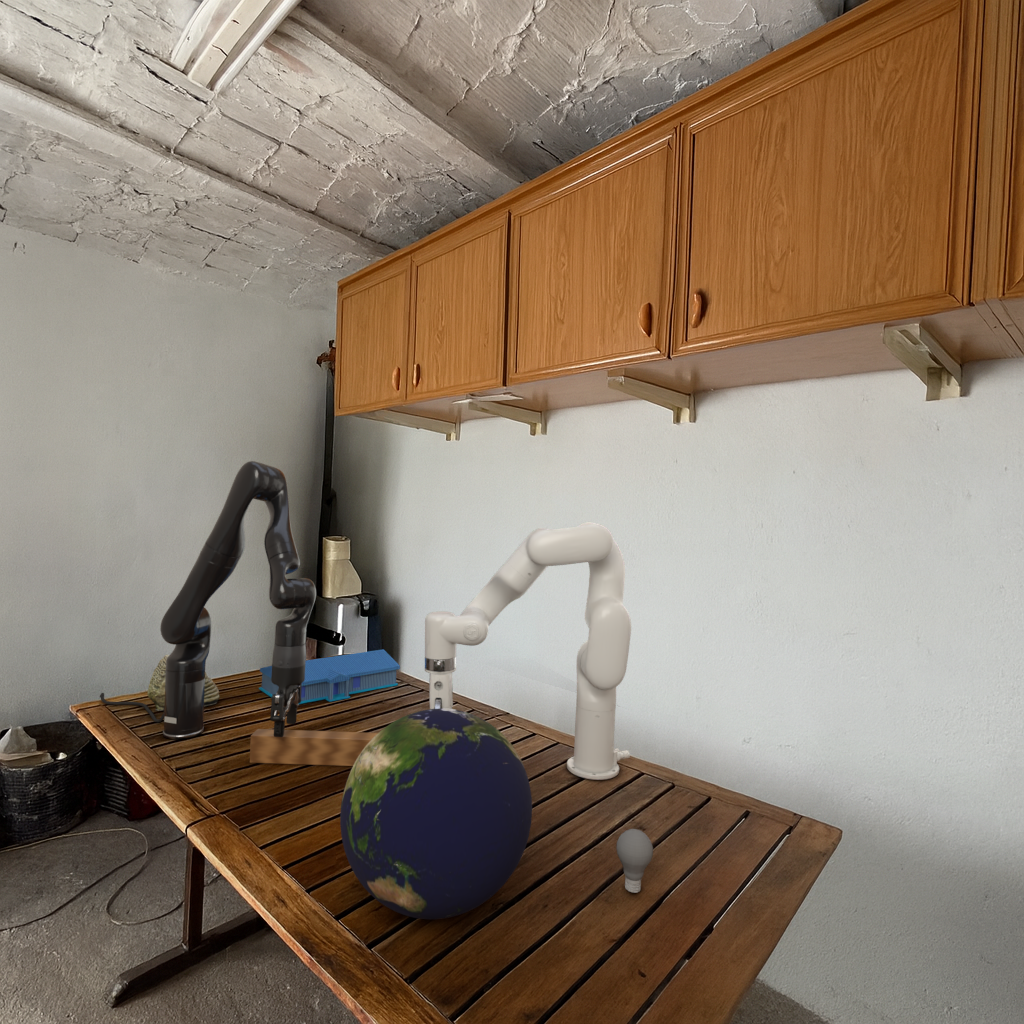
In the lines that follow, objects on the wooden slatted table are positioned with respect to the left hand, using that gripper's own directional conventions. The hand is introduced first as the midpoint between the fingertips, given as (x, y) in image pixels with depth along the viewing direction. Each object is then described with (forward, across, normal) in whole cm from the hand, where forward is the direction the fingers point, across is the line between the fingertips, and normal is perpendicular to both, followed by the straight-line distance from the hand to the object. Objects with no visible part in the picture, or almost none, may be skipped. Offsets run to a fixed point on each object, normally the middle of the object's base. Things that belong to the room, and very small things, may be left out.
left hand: (285, 729), depth 151 cm
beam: (+7, +1, -18) cm, 19 cm away
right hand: (-1, +1, -37) cm, 37 cm away
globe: (+7, -51, -42) cm, 66 cm away
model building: (+8, +57, +4) cm, 58 cm away
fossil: (+8, +35, +41) cm, 54 cm away
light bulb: (+6, -46, -74) cm, 87 cm away
